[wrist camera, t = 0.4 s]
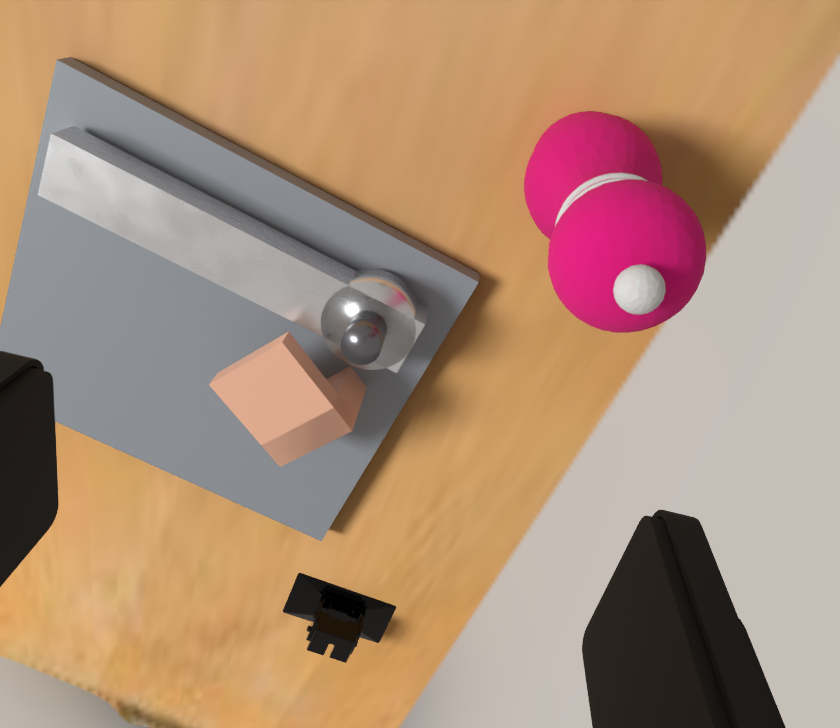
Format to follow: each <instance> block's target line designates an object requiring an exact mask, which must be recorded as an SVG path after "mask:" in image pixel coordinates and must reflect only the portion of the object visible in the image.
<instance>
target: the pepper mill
mask: <svg viewBox="0 0 840 728" xmlns="http://www.w3.org/2000/svg"><path fill="white" fill-rule="evenodd" d="M524 192H525V199H526V204H527V206H528V209H529V211H530V214H531V216H532V218H533V220H534V222H535V224H536V225H537V227H538V228H539V229H540V230H541V232H542V233H543V234H544V235H545V236H546V237H548V238H549V239H550V242H549V255H548V270H549V275H550V278H551V281H552V284H553V287H554V290H555V292H556V294H557V295H558V297H559V299H560V300H561V302H562V303H563V304H564V305H565V307H566V308H567V309H568V310H569V311H570V312H571V313H572V314H573V315H575V316H576V317H577V318H578V319H580V320H582V321H583V322H585V323H587V324H588V325H591V326H593V327H595V328H598V329H601V330H605V331H611V332H635V331H642V330H645V329H648V328H651V327H654V326H656V325H658V324H660V323H662V322H664V321H666V320H668V319H670V318H671V317H672V316H674V315H675V314H677V313H678V312H679V311H680V310H682V308H683V307H684V306H685V305H686V304H687V303H688V302H689V301H690V299H691V298H692V296H693V294H694V293H695V292H696V290H697V288H698V285H699V283H700V281H701V278H702V276H703V273H704V267H705V261H706V243H705V238H704V233H703V229H702V227H701V225H700V222H699V220H698V218H697V216H696V214H695V213H694V211H693V210H692V209H691V208H690V207H689V205H688V204H687V203H686V202H685V201H684V200H683V199H682V198H681V197H680V196H678V195H677V194H676V193H674V192H673V191H672V190H670V189H668V188H666V187H664V186H662V169H661V164H660V161H659V157H658V155H657V152H656V150H655V148H654V146H653V144H652V143H651V141H650V140H649V138H648V137H647V136H646V134H645V133H644V132H643V131H642V130H641V129H639V128H638V127H637V126H636V125H634V124H633V123H631V122H629V121H628V120H625V119H623V118H621V117H618V116H613V115H609V114H604V113H601V112H593V111H588V112H579V113H574V114H570V115H568V116H566V117H564V118H562V119H560V120H558V121H557V122H556V123H554V124H553V125H551V126H550V127H549V128H548V129H547V130H546V132H545V133H544V134H543V135H542V137H541V138H540V140H539V141H538V143H537V144H536V147H535V149H534V152H533V154H532V156H531V158H530V160H529V163H528V166H527V169H526V174H525V180H524Z"/></svg>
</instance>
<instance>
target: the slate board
mask: <svg viewBox="0 0 840 728" xmlns="http://www.w3.org/2000/svg"><path fill="white" fill-rule="evenodd" d="M72 126H75V127H77V128H79V129H81V130H83V131H85V132H87V133H89V134H91V135H93V136H95V137H97V138H99V139H101V140H102V141H104V142H106V143H108V144H110V145H112V146H114V147H116V148H118V149H120V150H122V151H124V152H126V153H128V154H130V155H132V156H134V157H135V158H137V159H139V160H141V161H143V162H145V163H147V164H149V165H151V166H153V167H155V168H157V169H159V170H161V171H163V172H165V173H167V174H168V175H170V176H172V177H174V178H176V179H178V180H180V181H182V182H184V183H186V184H188V185H190V186H192V187H194V188H196V189H198V190H200V191H201V192H203V193H205V194H207V195H209V196H211V197H213V198H215V199H217V200H219V201H221V202H223V203H225V204H227V205H229V206H231V207H233V208H234V209H236V210H238V211H240V212H242V213H244V214H246V215H248V216H250V217H252V218H254V219H256V220H258V221H260V222H262V223H264V224H266V225H267V226H269V227H271V228H273V229H275V230H277V231H279V232H281V233H283V234H285V235H287V236H289V237H291V238H293V239H295V240H297V241H299V242H300V243H302V244H304V245H306V246H308V247H310V248H312V249H314V250H316V251H318V252H320V253H322V254H324V255H326V256H328V257H330V258H332V259H333V260H335V261H337V262H339V263H341V264H343V265H345V266H347V267H349V268H351V269H353V270H355V271H358V270H363V269H379V270H384V271H387V272H390V273H392V274H394V275H396V276H397V277H399V278H401V279H402V280H403V281H404V282H405V283H406V284H407V285H408V286H409V287H410V288H411V289H412V291H413V292H414V294H415V296H416V298H417V301H418V303H419V304H421V305H423V306H425V307H427V308H429V310H428V314H427V319H426V323H425V326H424V327H423V329H422V331H421V333H420V334H419V336H418V338H417V339H416V341H415V343H414V345H413V346H412V348H411V350H410V351H409V353H408V355H407V357H406V358H405V360H404V362H403V363H402V365H401V367H400V369H399V370H398V372H397V373H395V372H393V371H391V370H389V369H387V368H384V369H379V370H366V369H360V368H357V367H354V366H351V365H349V364H347V363H345V362H344V361H342V360H341V359H339V358H338V357H337V356H336V355H335V354H334V353H333V352H332V351H331V350H330V348H329V347H328V345H327V344H326V342H325V340H324V337H323V336H321V335H319V334H317V333H315V332H313V331H311V330H309V329H307V328H305V327H303V326H301V325H299V324H297V323H295V322H292V321H290V320H288V319H286V318H284V317H282V316H280V315H278V314H276V313H274V312H272V311H270V310H268V309H266V308H264V307H262V306H260V305H258V304H256V303H254V302H252V301H250V300H248V299H246V298H244V297H242V296H240V295H238V294H236V293H234V292H232V291H230V290H228V289H226V288H224V287H222V286H220V285H218V284H216V283H214V282H212V281H210V280H208V279H206V278H204V277H202V276H200V275H198V274H196V273H194V272H192V271H190V270H188V269H186V268H184V267H182V266H180V265H178V264H176V263H174V262H172V261H170V260H168V259H166V258H164V257H162V256H160V255H158V254H156V253H154V252H152V251H149V250H147V249H145V248H143V247H141V246H139V245H137V244H135V243H133V242H131V241H129V240H127V239H125V238H123V237H121V236H119V235H117V234H115V233H113V232H111V231H109V230H107V229H105V228H103V227H101V226H99V225H97V224H95V223H93V222H91V221H89V220H87V219H85V218H83V217H81V216H79V215H77V214H75V213H73V212H71V211H69V210H67V209H65V208H63V207H61V206H59V205H57V204H55V203H53V202H51V201H49V200H47V199H45V198H43V197H41V196H39V195H38V191H39V186H40V182H41V177H42V172H43V168H44V163H45V159H46V154H47V149H48V145H49V140H50V136H51V133H54V132H57V131H60V130H63V129H66V128H69V127H72ZM478 283H479V273H477V272H476V271H474V270H472V269H470V268H468V267H466V266H464V265H462V264H460V263H459V262H457V261H455V260H453V259H451V258H449V257H447V256H445V255H443V254H442V253H440V252H438V251H436V250H434V249H432V248H430V247H428V246H426V245H425V244H423V243H421V242H419V241H417V240H415V239H413V238H411V237H409V236H408V235H406V234H404V233H402V232H400V231H398V230H396V229H394V228H392V227H391V226H389V225H387V224H385V223H383V222H381V221H379V220H377V219H376V218H374V217H372V216H370V215H368V214H366V213H364V212H362V211H360V210H359V209H357V208H355V207H353V206H351V205H349V204H347V203H345V202H343V201H342V200H340V199H338V198H336V197H334V196H332V195H330V194H328V193H326V192H325V191H323V190H321V189H319V188H317V187H315V186H313V185H311V184H309V183H308V182H306V181H304V180H302V179H300V178H298V177H296V176H294V175H292V174H291V173H289V172H287V171H285V170H283V169H281V168H279V167H277V166H275V165H274V164H272V163H270V162H268V161H266V160H264V159H262V158H260V157H258V156H257V155H255V154H253V153H251V152H249V151H247V150H245V149H243V148H241V147H240V146H238V145H236V144H234V143H232V142H230V141H228V140H226V139H224V138H223V137H221V136H219V135H217V134H215V133H213V132H211V131H209V130H207V129H206V128H204V127H202V126H200V125H198V124H196V123H194V122H192V121H190V120H189V119H187V118H185V117H183V116H181V115H179V114H177V113H175V112H173V111H172V110H170V109H168V108H166V107H164V106H162V105H160V104H158V103H156V102H155V101H153V100H151V99H149V98H147V97H145V96H143V95H141V94H139V93H138V92H136V91H134V90H132V89H130V88H128V87H126V86H124V85H122V84H121V83H119V82H117V81H115V80H113V79H111V78H109V77H107V76H105V75H104V74H102V73H100V72H98V71H96V70H94V69H92V68H90V67H88V66H87V65H85V64H83V63H81V62H79V61H77V60H75V59H73V58H71V57H69V58H63V59H58V60H57V61H56V66H55V71H54V75H53V80H52V85H51V90H50V94H49V99H48V104H47V108H46V113H45V118H44V123H43V127H42V132H41V137H40V142H39V146H38V151H37V156H36V161H35V165H34V170H33V175H32V180H31V184H30V189H29V194H28V199H27V203H26V208H25V213H24V218H23V222H22V227H21V232H20V236H19V241H18V246H17V251H16V255H15V260H14V265H13V270H12V274H11V279H10V284H9V289H8V293H7V298H6V303H5V308H4V312H3V317H2V322H1V327H0V351H5V352H9V353H13V354H17V355H21V356H25V357H30V358H34V359H37V360H39V361H41V363H42V364H43V366H44V371H47V372H49V373H51V375H52V377H53V386H54V410H55V422H58V423H60V424H62V425H64V426H67V427H69V428H71V429H73V430H75V431H78V432H80V433H82V434H84V435H87V436H89V437H91V438H93V439H95V440H98V441H100V442H102V443H104V444H107V445H109V446H111V447H113V448H115V449H118V450H120V451H122V452H124V453H127V454H129V455H131V456H133V457H135V458H138V459H140V460H142V461H144V462H147V463H149V464H151V465H153V466H155V467H158V468H160V469H162V470H164V471H167V472H169V473H171V474H173V475H175V476H178V477H180V478H182V479H184V480H187V481H189V482H191V483H193V484H195V485H198V486H200V487H202V488H204V489H207V490H209V491H211V492H213V493H215V494H218V495H220V496H222V497H224V498H227V499H229V500H231V501H233V502H235V503H238V504H240V505H242V506H244V507H247V508H249V509H251V510H253V511H255V512H258V513H260V514H262V515H264V516H267V517H269V518H271V519H273V520H275V521H278V522H280V523H282V524H284V525H287V526H289V527H291V528H293V529H295V530H298V531H300V532H302V533H304V534H307V535H309V536H311V537H313V538H315V539H318V540H320V541H322V539H323V538H324V536H325V534H326V533H327V531H328V529H329V528H330V526H331V524H332V523H333V521H334V519H335V518H336V516H337V515H338V513H339V511H340V510H341V508H342V506H343V505H344V503H345V501H346V500H347V498H348V496H349V495H350V493H351V492H352V490H353V488H354V487H355V485H356V483H357V482H358V480H359V478H360V477H361V475H362V473H363V472H364V470H365V469H366V467H367V465H368V464H369V462H370V460H371V459H372V457H373V455H374V454H375V452H376V450H377V449H378V447H379V446H380V444H381V442H382V441H383V439H384V437H385V436H386V434H387V432H388V431H389V429H390V427H391V426H392V424H393V423H394V421H395V419H396V418H397V416H398V414H399V413H400V411H401V409H402V408H403V406H404V404H405V403H406V401H407V400H408V398H409V396H410V395H411V393H412V391H413V390H414V388H415V386H416V385H417V383H418V381H419V380H420V378H421V377H422V375H423V373H424V372H425V370H426V368H427V367H428V365H429V363H430V362H431V360H432V358H433V357H434V355H435V354H436V352H437V350H438V349H439V347H440V345H441V344H442V342H443V340H444V339H445V337H446V335H447V334H448V332H449V331H450V329H451V327H452V326H453V324H454V322H455V321H456V319H457V317H458V316H459V314H460V312H461V311H462V309H463V308H464V306H465V304H466V303H467V301H468V299H469V298H470V296H471V294H472V293H473V291H474V289H475V288H476V286H477V285H478ZM287 332H290V333H291V335H292V336H293V337H294V339H295V340H296V341H297V342H298V344H299V345H300V346H301V347H302V349H303V350H304V351H305V353H306V354H307V355H308V356H309V358H310V359H311V360H312V362H313V363H314V364H315V365H316V367H317V368H318V369H319V371H320V372H321V373H322V374H323V376H324V377H325V378H326V379H327V378H329V377H331V376H333V375H335V374H337V373H339V372H340V371H342V370H344V369H346V368H348V367H350V366H351V367H352V369H353V370H354V371H355V373H356V374H357V375H358V377H359V378H360V379H361V381H362V382H363V383H364V385H365V386H366V387H367V389H366V392H365V395H364V398H363V401H362V404H361V407H360V410H359V413H358V416H357V418H356V421H355V424H354V427H353V430H352V431H351V432H349V433H347V434H345V435H343V436H341V437H339V438H337V439H335V440H333V441H331V442H329V443H327V444H325V445H323V446H321V447H319V448H317V449H315V450H313V451H311V452H309V453H307V454H305V455H303V456H301V457H299V458H297V459H295V460H293V461H291V462H289V463H287V464H285V465H283V466H281V467H280V466H279V465H278V464H277V463H276V462H275V461H274V460H273V458H272V457H271V456H270V455H269V454H268V453H267V451H266V450H265V449H264V448H263V447H262V446H261V445H260V443H259V442H258V441H257V440H256V439H255V438H254V436H253V435H252V434H251V433H250V432H249V431H248V429H247V428H246V427H245V426H244V425H243V424H242V423H241V421H240V420H239V419H238V418H237V417H236V416H235V414H234V413H233V412H232V411H231V410H230V409H229V408H228V406H227V405H226V404H225V403H224V402H223V401H222V399H221V398H220V397H219V396H218V395H217V394H216V392H215V391H214V390H213V389H212V388H211V387H210V386H209V384H210V382H211V381H212V380H213V378H214V377H215V376H216V374H217V373H218V372H220V371H222V370H223V369H225V368H227V367H229V366H230V365H232V364H234V363H235V362H237V361H239V360H241V359H242V358H244V357H246V356H247V355H249V354H251V353H253V352H254V351H256V350H258V349H259V348H261V347H263V346H265V345H266V344H268V343H270V342H271V341H273V340H275V339H277V338H278V337H280V336H282V335H283V334H285V333H287Z"/></svg>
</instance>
